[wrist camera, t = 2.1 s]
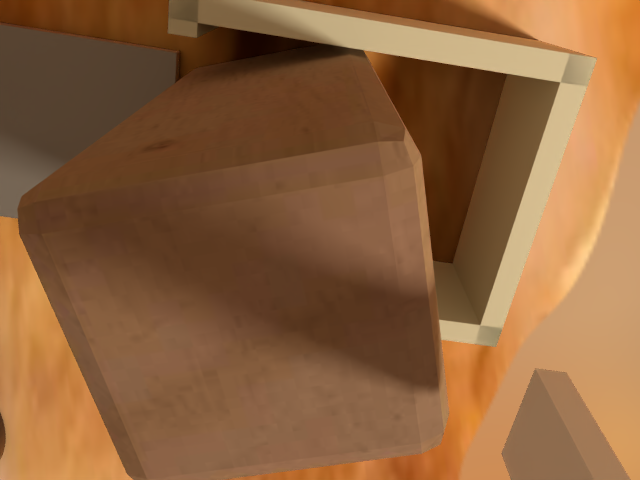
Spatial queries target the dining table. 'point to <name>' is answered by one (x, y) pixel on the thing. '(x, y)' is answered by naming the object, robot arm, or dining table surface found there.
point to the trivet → (67, 98)
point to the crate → (501, 150)
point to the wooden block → (250, 272)
